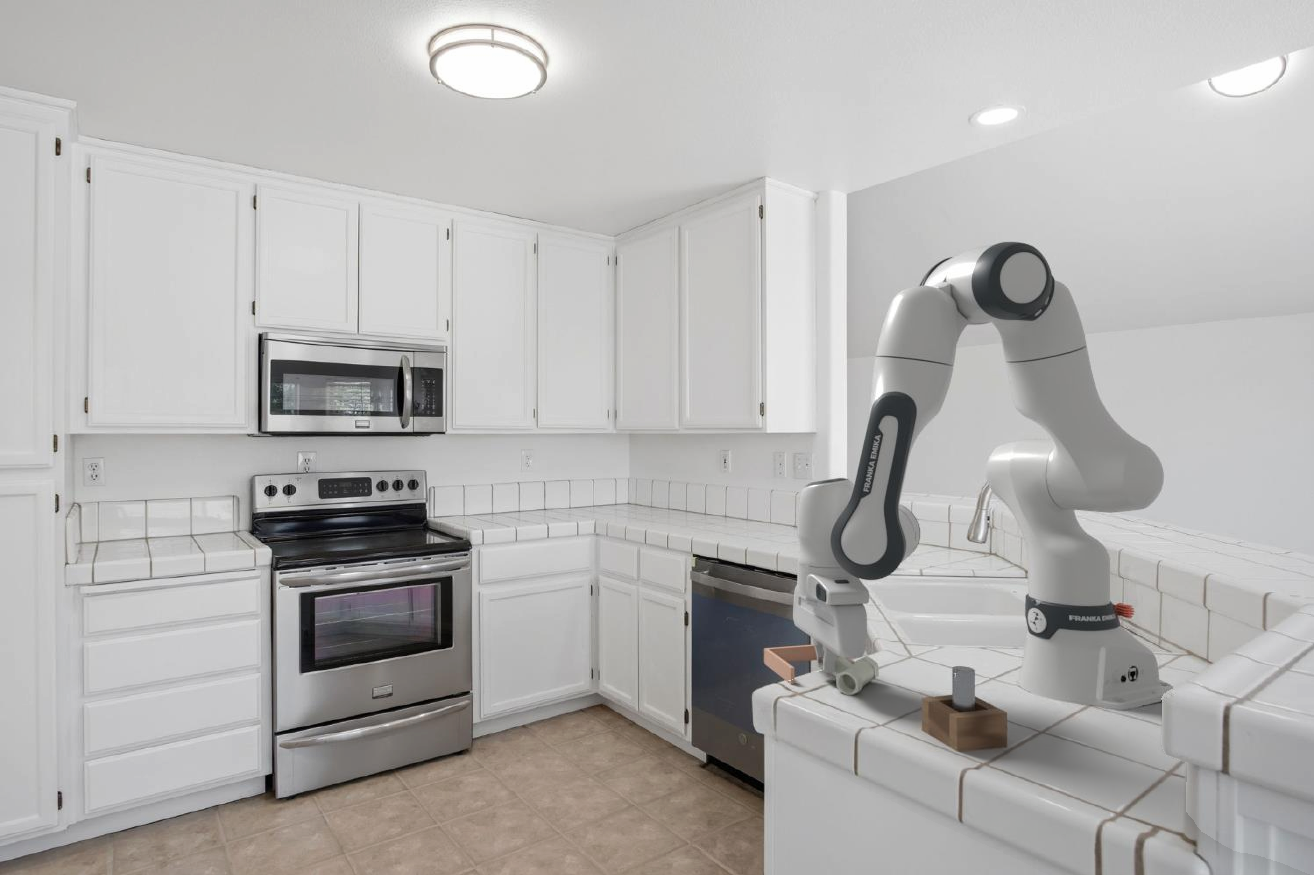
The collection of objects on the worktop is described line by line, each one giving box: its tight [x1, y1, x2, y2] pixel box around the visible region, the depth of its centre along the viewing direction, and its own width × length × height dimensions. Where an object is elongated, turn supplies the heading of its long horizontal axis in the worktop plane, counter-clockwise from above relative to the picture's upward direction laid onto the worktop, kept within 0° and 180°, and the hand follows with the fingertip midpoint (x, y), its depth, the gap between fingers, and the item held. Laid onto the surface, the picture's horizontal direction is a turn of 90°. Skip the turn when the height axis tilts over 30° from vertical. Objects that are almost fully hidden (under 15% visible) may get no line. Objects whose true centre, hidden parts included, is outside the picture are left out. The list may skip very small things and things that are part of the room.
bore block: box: [921, 694, 1008, 752], centre depth 90 cm, size 7×7×4 cm
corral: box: [763, 644, 856, 685], centre depth 118 cm, size 11×11×2 cm
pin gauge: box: [951, 665, 976, 713], centre depth 90 cm, size 3×3×9 cm
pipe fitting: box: [831, 655, 880, 696], centre depth 111 cm, size 8×4×7 cm
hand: (826, 670), depth 113 cm, fingers closed
